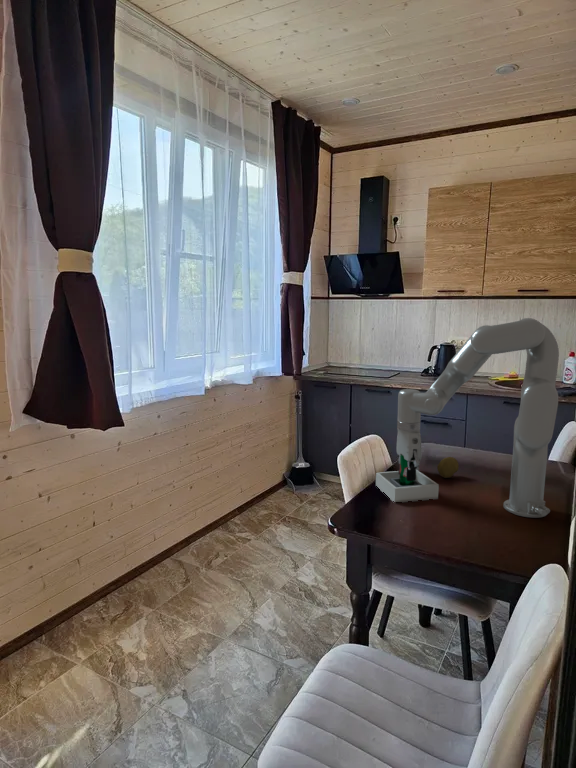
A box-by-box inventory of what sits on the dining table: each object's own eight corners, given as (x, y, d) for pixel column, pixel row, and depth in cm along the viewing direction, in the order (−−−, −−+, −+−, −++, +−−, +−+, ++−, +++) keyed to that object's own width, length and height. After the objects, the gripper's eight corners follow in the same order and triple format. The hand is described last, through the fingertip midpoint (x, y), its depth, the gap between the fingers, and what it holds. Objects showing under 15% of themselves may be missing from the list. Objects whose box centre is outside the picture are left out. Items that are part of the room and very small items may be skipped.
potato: (459, 475, 185) (460, 455, 183) (455, 482, 178) (457, 461, 177) (440, 473, 188) (441, 453, 187) (436, 479, 181) (437, 458, 180)
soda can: (403, 488, 165) (404, 454, 163) (396, 483, 170) (397, 450, 168) (417, 486, 166) (418, 452, 164) (409, 481, 171) (410, 448, 169)
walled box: (438, 498, 163) (438, 484, 162) (394, 503, 159) (395, 488, 158) (415, 482, 178) (416, 469, 177) (375, 486, 174) (376, 472, 173)
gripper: (431, 431, 157) (429, 485, 160) (407, 419, 174) (405, 468, 177) (410, 432, 156) (408, 487, 158) (387, 420, 172) (386, 470, 175)
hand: (407, 476), depth 167 cm, fingers open, 5 cm apart
